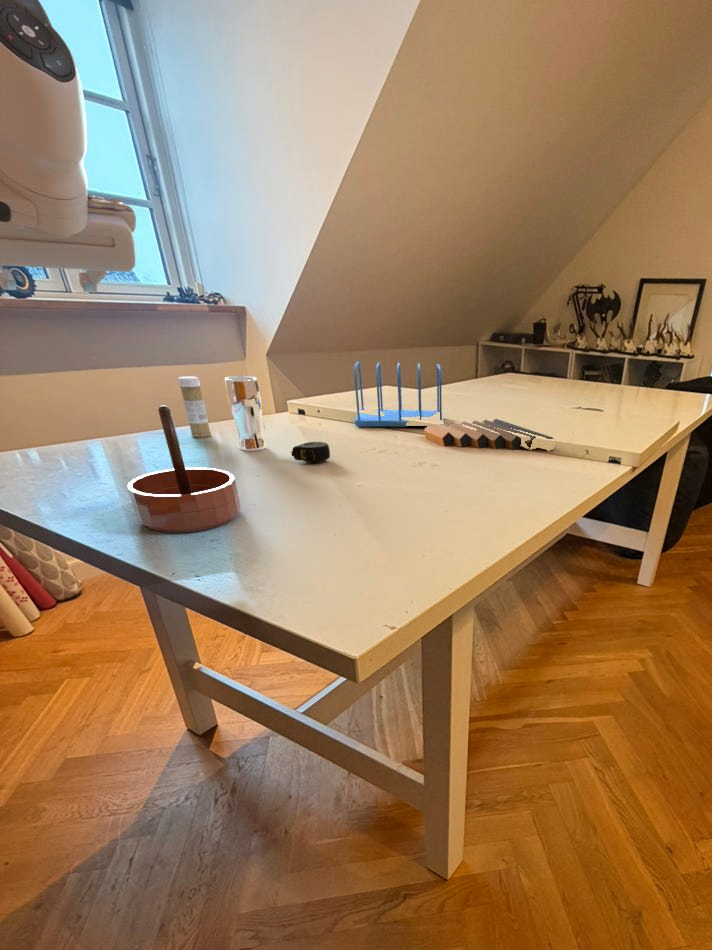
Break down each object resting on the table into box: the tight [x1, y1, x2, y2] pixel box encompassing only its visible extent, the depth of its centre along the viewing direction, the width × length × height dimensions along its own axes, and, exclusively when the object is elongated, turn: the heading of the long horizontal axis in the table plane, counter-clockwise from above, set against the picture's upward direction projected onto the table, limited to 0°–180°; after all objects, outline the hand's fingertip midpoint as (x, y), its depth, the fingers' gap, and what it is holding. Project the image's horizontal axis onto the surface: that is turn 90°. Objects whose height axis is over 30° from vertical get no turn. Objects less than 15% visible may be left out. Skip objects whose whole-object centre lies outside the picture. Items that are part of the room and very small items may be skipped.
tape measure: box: [290, 441, 331, 463], centre depth 119 cm, size 7×7×4 cm
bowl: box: [127, 467, 242, 534], centre depth 87 cm, size 15×15×6 cm
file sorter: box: [353, 361, 443, 428], centre depth 155 cm, size 25×17×15 cm
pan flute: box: [423, 418, 554, 451], centre depth 140 cm, size 25×3×25 cm
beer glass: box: [224, 375, 268, 452], centre depth 124 cm, size 7×7×15 cm
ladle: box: [157, 405, 191, 495], centre depth 84 cm, size 5×5×16 cm
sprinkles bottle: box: [177, 375, 212, 438], centre depth 132 cm, size 5×5×13 cm
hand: (49, 287), depth 74 cm, fingers open, 8 cm apart
